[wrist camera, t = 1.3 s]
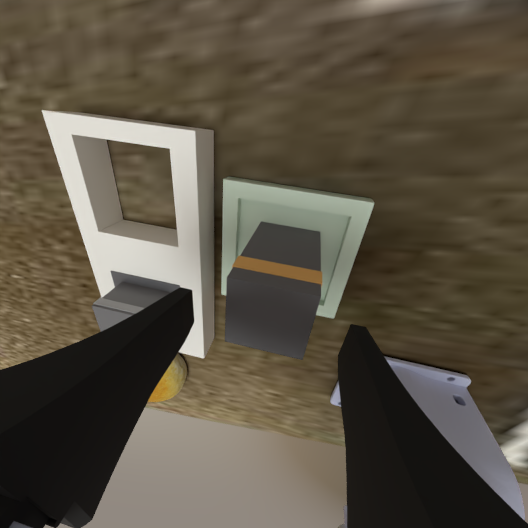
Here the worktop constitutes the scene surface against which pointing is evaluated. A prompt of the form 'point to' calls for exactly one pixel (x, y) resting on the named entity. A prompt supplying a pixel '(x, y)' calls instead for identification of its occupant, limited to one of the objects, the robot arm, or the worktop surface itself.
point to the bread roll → (170, 381)
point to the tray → (300, 216)
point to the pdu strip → (139, 234)
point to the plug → (275, 290)
